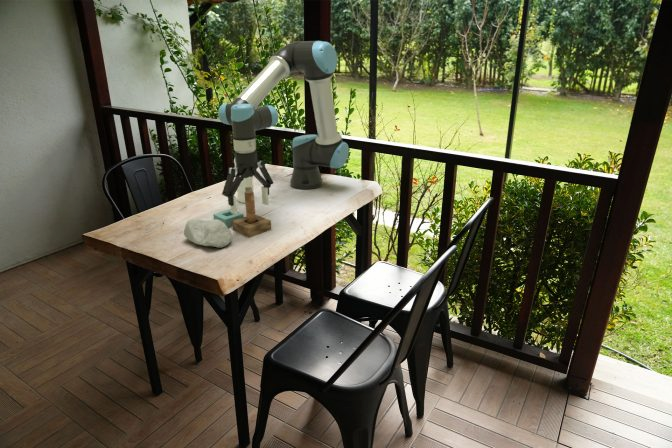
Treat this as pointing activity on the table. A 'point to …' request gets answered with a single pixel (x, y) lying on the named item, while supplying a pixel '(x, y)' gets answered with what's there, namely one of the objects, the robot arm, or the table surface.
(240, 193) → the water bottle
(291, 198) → the table surface
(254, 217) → the brown wooden square peg
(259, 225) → the brown square socket block
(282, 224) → the table surface
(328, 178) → the table surface
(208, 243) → the decorative stone
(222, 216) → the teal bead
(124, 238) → the table surface
